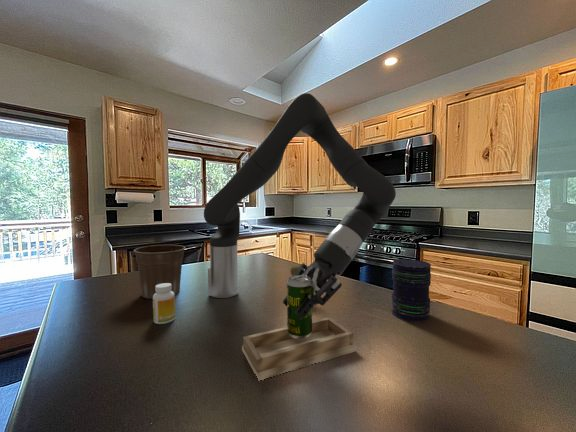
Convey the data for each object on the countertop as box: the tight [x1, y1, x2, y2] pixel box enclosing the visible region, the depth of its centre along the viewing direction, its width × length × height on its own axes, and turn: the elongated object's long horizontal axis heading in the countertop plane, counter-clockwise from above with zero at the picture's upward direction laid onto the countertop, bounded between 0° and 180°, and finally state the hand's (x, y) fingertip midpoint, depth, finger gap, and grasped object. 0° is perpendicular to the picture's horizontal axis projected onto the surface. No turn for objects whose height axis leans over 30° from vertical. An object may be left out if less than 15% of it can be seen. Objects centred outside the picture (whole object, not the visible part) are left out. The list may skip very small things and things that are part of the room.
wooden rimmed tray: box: [241, 316, 357, 382], centre depth 57 cm, size 22×11×4 cm, turn 116°
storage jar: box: [391, 258, 432, 324], centre depth 75 cm, size 10×10×15 cm
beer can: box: [286, 275, 313, 339], centre depth 57 cm, size 5×5×12 cm
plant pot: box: [133, 244, 186, 300], centre depth 93 cm, size 16×16×16 cm
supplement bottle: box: [152, 283, 176, 325], centre depth 72 cm, size 5×5×10 cm
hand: (292, 310), depth 56 cm, fingers closed on beer can, 5 cm apart
